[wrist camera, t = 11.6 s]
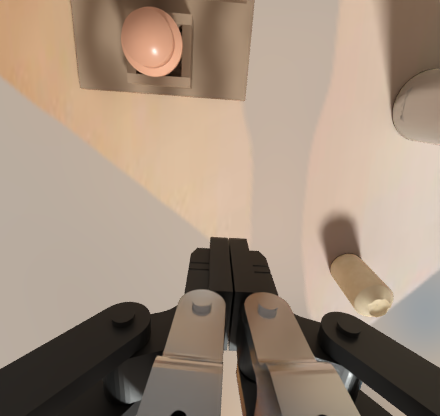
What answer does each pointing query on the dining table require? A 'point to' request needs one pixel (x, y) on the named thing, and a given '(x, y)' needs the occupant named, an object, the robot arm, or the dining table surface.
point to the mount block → (191, 56)
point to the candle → (361, 286)
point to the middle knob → (151, 41)
